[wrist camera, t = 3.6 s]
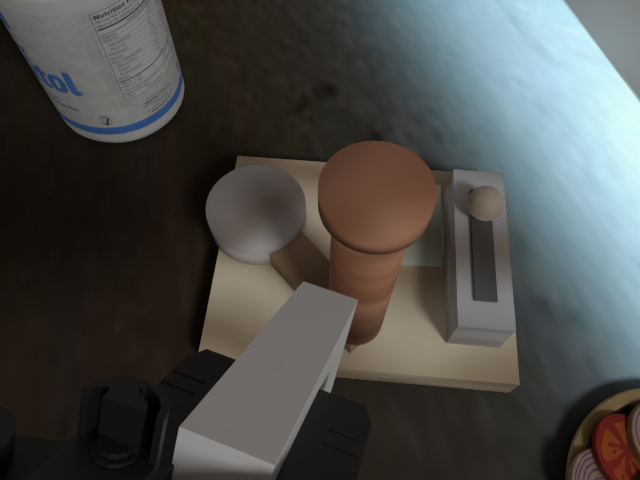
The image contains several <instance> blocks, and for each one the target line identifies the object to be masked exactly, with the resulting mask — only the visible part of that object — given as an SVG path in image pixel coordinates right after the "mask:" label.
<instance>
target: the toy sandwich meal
mask: <svg viewBox="0 0 640 480" xmlns="http://www.w3.org/2000/svg"><path fill="white" fill-rule="evenodd" d="M566 480H640V387H638V388H633V389H628V390H625V391H622V392H619V393H617V394H615V395H613V396H611V397H609V398H607V399H606V400H604V401H603V402H601V403H600V404H599V405H597V406H596V407H595V408H594V409H593V410H592V411H591V412H590V413H589V414H588V415H587V416H586V418H585V419H584V420H583V422H582V423H581V425H580V426H579V428H578V430H577V432H576V434H575V436H574V438H573V440H572V443H571V446H570V450H569V454H568V458H567V465H566Z"/></svg>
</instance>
